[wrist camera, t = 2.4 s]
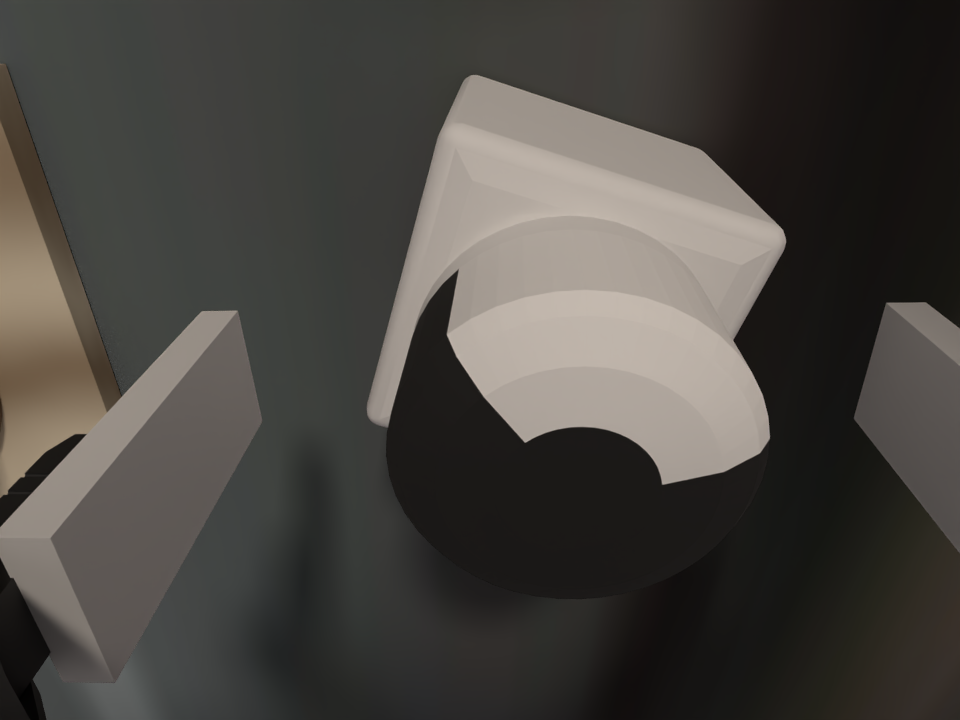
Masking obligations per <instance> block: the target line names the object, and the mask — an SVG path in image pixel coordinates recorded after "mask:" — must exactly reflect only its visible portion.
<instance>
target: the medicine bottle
mask: <svg viewBox="0 0 960 720" xmlns="http://www.w3.org/2000/svg"><path fill="white" fill-rule="evenodd" d="M785 244H786V238H785V235H784V232H783V229H782V228H781V227H780V226H779V225H778V224H777V223H776V222H775V221H774V220H773V219H771V218H770V217H769V216H768V215H767V214H766V213H765V212H764V211H763V210H762V209H761V208H760V207H759V206H758V205H757V204H756V203H755V202H754V201H753V200H752V199H751V198H750V197H749V196H748V195H747V194H746V193H745V192H744V191H743V190H742V189H741V188H740V187H739V186H738V185H737V184H736V183H735V182H734V181H733V180H732V179H731V178H730V177H729V176H728V175H727V174H726V173H725V172H724V171H723V170H722V169H721V168H720V167H719V166H718V165H717V164H716V163H715V162H714V161H713V160H712V159H711V158H710V157H708V156H707V155H706V154H705V153H704V152H703V151H702V150H700V149H698V148H695V147H692V146H689V145H686V144H683V143H680V142H677V141H674V140H671V139H668V138H665V137H662V136H659V135H656V134H653V133H650V132H647V131H644V130H641V129H638V128H635V127H632V126H629V125H626V124H623V123H620V122H617V121H614V120H611V119H608V118H605V117H602V116H599V115H596V114H593V113H590V112H587V111H584V110H581V109H578V108H575V107H572V106H569V105H566V104H563V103H560V102H557V101H554V100H551V99H548V98H545V97H542V96H539V95H536V94H533V93H530V92H527V91H524V90H521V89H518V88H515V87H512V86H509V85H506V84H503V83H500V82H497V81H494V80H491V79H488V78H485V77H482V76H479V75H471V76H469V77H467V78H466V79H465V80H464V81H463V83H462V85H461V87H460V89H459V91H458V94H457V96H456V98H455V100H454V103H453V105H452V107H451V109H450V111H449V114H448V116H447V118H446V120H445V123H444V125H443V127H442V129H441V131H440V134H439V136H438V139H437V143H436V147H435V150H434V154H433V158H432V162H431V165H430V169H429V173H428V177H427V181H426V184H425V188H424V192H423V196H422V199H421V203H420V207H419V211H418V215H417V218H416V222H415V226H414V230H413V233H412V237H411V241H410V245H409V248H408V252H407V256H406V260H405V264H404V267H403V271H402V275H401V279H400V282H399V286H398V290H397V294H396V297H395V301H394V305H393V309H392V313H391V316H390V320H389V324H388V328H387V331H386V335H385V339H384V343H383V347H382V350H381V354H380V358H379V362H378V365H377V369H376V373H375V377H374V380H373V384H372V388H371V392H370V396H369V399H368V403H367V414H368V417H369V419H370V420H371V422H373V423H375V424H377V425H380V426H383V427H387V428H388V430H387V442H386V457H387V464H388V470H389V476H390V479H391V482H392V485H393V488H394V491H395V494H396V497H397V499H398V501H399V502H400V504H401V506H402V508H403V510H404V512H405V514H406V515H407V517H408V518H409V519H410V521H411V522H412V523H413V525H414V526H415V528H416V529H417V530H418V531H419V532H420V533H421V534H422V535H423V536H424V537H425V538H426V539H427V540H428V542H429V543H430V544H431V545H432V546H434V547H435V548H436V549H437V550H438V551H439V552H441V553H442V554H443V555H444V556H446V557H447V558H448V559H450V560H451V561H452V562H453V563H455V564H456V565H457V566H459V567H461V568H462V569H464V570H466V571H467V572H469V573H471V574H472V575H474V576H476V577H478V578H480V579H482V580H485V581H487V582H489V583H491V584H493V585H496V586H499V587H502V588H505V589H508V590H511V591H515V592H519V593H524V594H528V595H533V596H539V597H548V598H556V599H586V598H600V597H606V596H612V595H618V594H623V593H627V592H631V591H634V590H638V589H642V588H645V587H648V586H650V585H653V584H655V583H658V582H660V581H663V580H665V579H667V578H669V577H671V576H673V575H675V574H677V573H679V572H681V571H683V570H685V569H686V568H688V567H689V566H691V565H692V564H694V563H695V562H697V561H698V560H700V559H701V558H703V557H704V556H705V555H706V554H707V553H708V552H710V551H711V550H712V549H713V548H714V547H715V546H717V545H718V544H719V543H720V542H721V541H722V539H723V538H724V537H725V536H726V535H727V534H728V533H729V532H730V531H731V529H732V528H733V527H734V526H735V525H736V523H737V522H738V521H739V520H740V518H741V517H742V516H743V514H744V513H745V511H746V510H747V508H748V507H749V505H750V504H751V502H752V501H753V498H754V496H755V494H756V492H757V490H758V488H759V486H760V484H761V482H762V478H763V475H764V471H765V468H766V464H767V461H768V452H769V443H770V432H769V419H768V414H767V410H766V406H765V402H764V399H763V395H762V393H761V391H760V388H759V386H758V384H757V382H756V380H755V378H754V376H753V374H752V372H751V370H750V369H749V367H748V365H747V363H746V362H745V360H744V358H743V357H742V355H741V353H740V351H739V350H738V348H737V346H736V345H735V343H734V341H733V339H734V338H735V336H736V334H737V332H738V331H739V329H740V327H741V325H742V324H743V322H744V320H745V318H746V316H747V315H748V313H749V311H750V309H751V308H752V306H753V304H754V302H755V300H756V299H757V297H758V295H759V293H760V292H761V290H762V288H763V286H764V284H765V283H766V281H767V279H768V277H769V276H770V274H771V272H772V270H773V269H774V267H775V265H776V263H777V261H778V260H779V258H780V256H781V254H782V253H783V251H784V248H785Z"/></svg>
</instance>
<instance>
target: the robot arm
mask: <svg viewBox="0 0 960 720" xmlns="http://www.w3.org/2000/svg"><path fill="white" fill-rule="evenodd" d="M854 420H855V421H856V422H857V423H858V425H859V426H860V427H861V428H862V430H863V431H864V432H865V434H866V435H867V436H868V437H869V439H870V440H871V441H872V442H873V444H874V445H875V446H876V448H877V449H878V450H879V451H880V453H881V454H882V455H883V456H884V458H885V459H886V460H887V461H888V463H889V464H890V465H891V467H892V468H893V469H894V470H895V472H896V473H897V474H898V475H899V477H900V478H901V479H902V481H903V482H904V483H905V484H906V486H907V487H908V488H909V489H910V491H911V492H912V493H913V495H914V496H915V497H916V498H917V500H918V501H919V502H920V503H921V505H922V506H923V507H924V509H925V510H926V511H927V512H928V514H929V515H930V516H931V517H932V519H933V520H934V521H935V522H936V524H937V525H938V526H939V528H940V529H941V530H942V531H943V533H944V534H945V535H946V536H947V538H948V539H949V540H950V542H951V543H952V544H953V545H954V547H955V548H956V549H957V550H958V552H959V553H960V328H958V327H957V326H956V325H954V324H953V323H952V322H951V321H949V320H948V319H947V318H945V317H944V316H943V315H941V314H940V313H939V312H938V311H936V310H935V309H934V308H932V307H931V306H930V305H928V304H927V303H926V302H920V303H886V305H885V309H884V312H883V316H882V319H881V323H880V326H879V330H878V334H877V337H876V341H875V344H874V348H873V351H872V355H871V359H870V362H869V366H868V369H867V373H866V376H865V380H864V383H863V387H862V391H861V394H860V398H859V401H858V405H857V408H856V412H855V416H854ZM261 422H262V417H261V413H260V408H259V404H258V399H257V395H256V390H255V386H254V381H253V377H252V372H251V368H250V363H249V359H248V354H247V350H246V345H245V341H244V336H243V332H242V327H241V323H240V318H239V314H238V311H202V312H201V313H200V314H199V315H198V316H197V317H196V318H195V319H194V320H193V321H192V322H191V323H190V324H189V325H188V327H187V328H186V329H185V330H184V331H183V332H182V333H181V334H180V335H179V336H178V337H177V338H176V339H175V340H174V342H173V343H172V344H171V345H170V346H169V347H168V348H167V349H166V350H165V351H164V352H163V353H162V354H161V355H160V357H159V358H158V359H157V360H156V361H155V362H154V363H153V364H152V365H151V366H150V367H149V368H148V369H147V370H146V372H145V373H144V374H143V375H142V376H141V377H140V378H139V379H138V380H137V381H136V382H135V383H134V384H133V385H132V387H131V388H130V389H129V390H128V391H127V392H126V393H125V394H124V395H123V396H122V397H121V398H120V399H119V400H118V402H117V403H116V404H115V405H114V406H113V407H112V408H111V409H110V410H109V411H108V412H107V413H106V414H105V415H104V417H103V418H102V419H101V420H100V421H99V422H98V423H97V424H96V425H95V426H94V427H93V428H92V429H91V430H90V432H89V433H88V434H74V435H73V436H71V437H69V438H68V439H66V440H64V441H63V442H61V443H59V444H58V445H56V446H55V447H53V448H51V449H50V450H48V451H46V452H45V453H44V454H43V455H42V456H41V457H40V458H39V459H38V460H37V461H36V462H35V463H34V464H33V465H32V466H31V467H30V468H29V469H28V470H27V471H26V472H25V477H20V478H19V479H18V480H17V481H16V482H15V483H14V484H13V485H12V487H11V488H10V489H9V490H8V494H7V495H3V496H2V497H1V498H0V720H46V716H45V712H44V708H43V703H42V699H41V695H40V693H39V691H38V689H37V687H36V685H35V683H34V681H33V680H32V679H33V678H34V676H35V675H36V673H37V672H38V670H39V669H40V667H41V666H42V664H43V663H44V662H45V660H46V659H47V657H48V656H50V658H51V660H52V661H53V663H54V665H55V667H56V669H57V671H58V673H59V675H60V677H61V679H62V681H63V682H85V683H115V682H116V680H117V679H118V677H119V675H120V673H121V671H122V670H123V668H124V666H125V664H126V663H127V661H128V659H129V657H130V655H131V654H132V652H133V650H134V648H135V647H136V645H137V643H138V641H139V639H140V638H141V636H142V634H143V632H144V631H145V629H146V627H147V625H148V623H149V622H150V620H151V618H152V616H153V615H154V613H155V611H156V609H157V607H158V606H159V604H160V602H161V600H162V599H163V597H164V595H165V593H166V591H167V590H168V588H169V586H170V584H171V583H172V581H173V579H174V577H175V575H176V574H177V572H178V570H179V568H180V567H181V565H182V563H183V561H184V559H185V558H186V556H187V554H188V552H189V551H190V549H191V547H192V545H193V543H194V542H195V540H196V538H197V536H198V535H199V533H200V531H201V529H202V527H203V526H204V524H205V522H206V520H207V518H208V517H209V515H210V513H211V511H212V510H213V508H214V506H215V504H216V502H217V501H218V499H219V497H220V495H221V494H222V492H223V490H224V488H225V486H226V485H227V483H228V481H229V479H230V478H231V476H232V474H233V472H234V470H235V469H236V467H237V465H238V463H239V462H240V460H241V458H242V456H243V454H244V453H245V451H246V449H247V447H248V446H249V444H250V442H251V440H252V438H253V437H254V435H255V433H256V431H257V430H258V428H259V426H260V424H261Z"/></svg>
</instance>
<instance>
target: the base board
mask: <svg viewBox="0 0 960 720" xmlns="http://www.w3.org/2000/svg"><path fill="white" fill-rule="evenodd" d="M120 398H121V394H120V391H119V388H118V385H117V382H116V379H115V377H114V374H113V371H112V368H111V365H110V362H109V359H108V356H107V354H106V351H105V348H104V345H103V342H102V339H101V336H100V333H99V331H98V328H97V325H96V322H95V319H94V316H93V313H92V311H91V308H90V305H89V302H88V299H87V296H86V293H85V290H84V288H83V285H82V282H81V279H80V276H79V273H78V270H77V267H76V265H75V262H74V259H73V256H72V253H71V250H70V247H69V244H68V242H67V239H66V236H65V233H64V230H63V227H62V224H61V222H60V219H59V216H58V213H57V210H56V207H55V204H54V201H53V199H52V196H51V193H50V190H49V187H48V184H47V181H46V178H45V176H44V173H43V170H42V167H41V164H40V161H39V158H38V155H37V153H36V150H35V147H34V144H33V141H32V138H31V135H30V133H29V130H28V127H27V124H26V121H25V118H24V115H23V112H22V110H21V107H20V104H19V101H18V98H17V95H16V92H15V89H14V87H13V84H12V81H11V78H10V75H9V72H8V69H7V66H6V64H0V498H1V497H2V496H3V495H7V494H8V490H9V489H10V488H11V487H12V485H13V484H14V483H15V482H16V481H17V480H18V479H19V478H20V477H25V472H26V471H27V470H28V469H29V468H30V467H31V466H32V465H33V464H34V463H35V462H36V461H37V460H38V459H39V458H40V457H41V456H42V455H43V454H44V453H45V452H46V451H48V450H50V449H51V448H53V447H55V446H56V445H58V444H59V443H61V442H63V441H64V440H66V439H68V438H69V437H71V436H73V435H74V434H88V433H89V432H90V430H91V429H92V428H93V427H94V426H95V425H96V424H97V423H98V422H99V421H100V420H101V419H102V418H103V417H104V415H105V414H106V413H107V412H108V411H109V410H110V409H111V408H112V407H113V406H114V405H115V404H116V403H117V402H118V400H119V399H120Z"/></svg>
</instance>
